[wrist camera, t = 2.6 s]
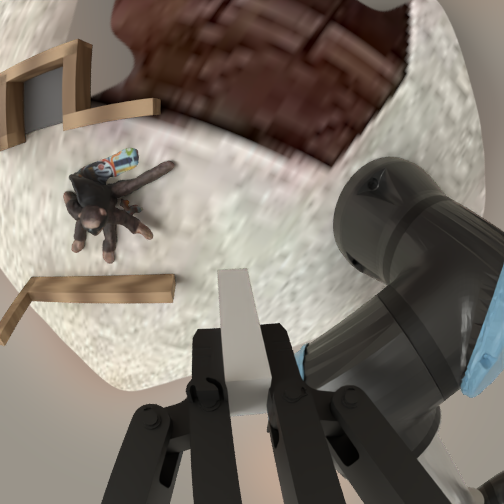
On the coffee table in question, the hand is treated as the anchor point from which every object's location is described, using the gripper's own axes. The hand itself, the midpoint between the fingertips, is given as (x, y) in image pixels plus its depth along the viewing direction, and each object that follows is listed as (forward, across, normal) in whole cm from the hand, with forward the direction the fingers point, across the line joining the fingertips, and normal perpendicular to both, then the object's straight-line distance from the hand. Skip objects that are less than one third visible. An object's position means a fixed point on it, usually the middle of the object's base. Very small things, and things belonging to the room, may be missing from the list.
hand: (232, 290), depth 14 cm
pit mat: (+16, +19, -13) cm, 28 cm away
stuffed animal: (+16, +12, 0) cm, 20 cm away
